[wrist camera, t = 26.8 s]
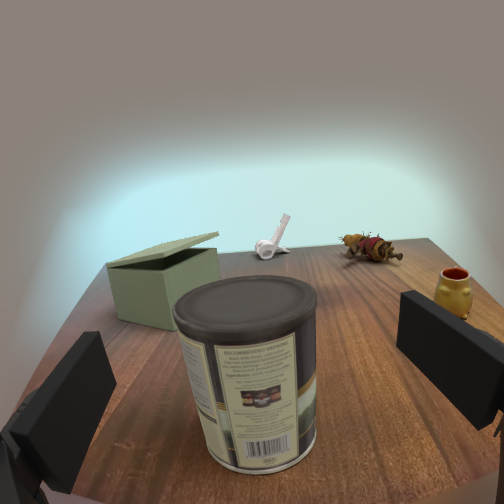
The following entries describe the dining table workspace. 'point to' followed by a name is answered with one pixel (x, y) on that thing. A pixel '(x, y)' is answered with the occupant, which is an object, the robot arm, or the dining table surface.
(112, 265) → the lid
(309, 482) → the dining table surface
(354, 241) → the scarecrow
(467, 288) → the mug
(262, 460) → the coffee can
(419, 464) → the dining table surface
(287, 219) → the plastic part
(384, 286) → the dining table surface
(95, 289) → the dining table surface
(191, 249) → the chest
